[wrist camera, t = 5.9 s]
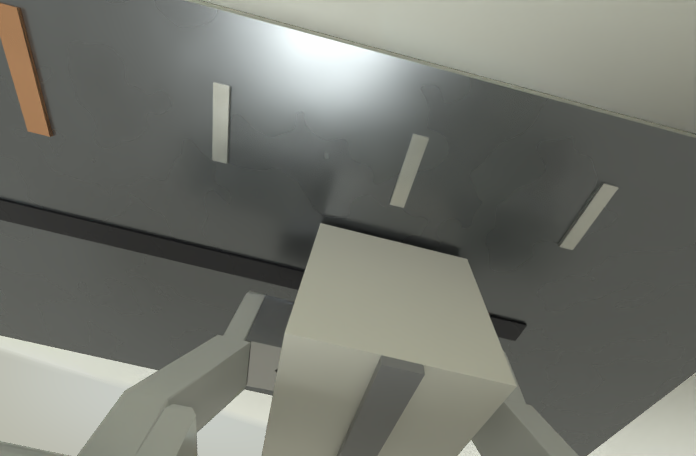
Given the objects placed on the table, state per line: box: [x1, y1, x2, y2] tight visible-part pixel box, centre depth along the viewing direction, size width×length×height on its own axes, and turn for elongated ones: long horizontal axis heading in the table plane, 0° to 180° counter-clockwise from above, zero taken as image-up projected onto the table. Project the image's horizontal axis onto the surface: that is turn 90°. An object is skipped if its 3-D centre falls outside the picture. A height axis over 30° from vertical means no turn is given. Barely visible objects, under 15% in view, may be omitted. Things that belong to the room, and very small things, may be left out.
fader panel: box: [0, 0, 696, 456], centre depth 12 cm, size 28×14×3 cm, turn 77°
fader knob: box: [262, 223, 517, 456], centre depth 9 cm, size 4×5×4 cm
